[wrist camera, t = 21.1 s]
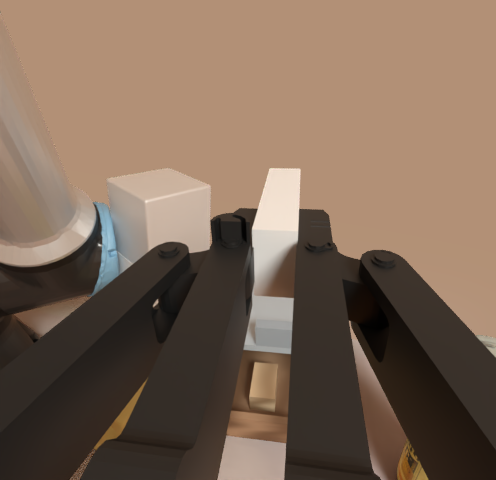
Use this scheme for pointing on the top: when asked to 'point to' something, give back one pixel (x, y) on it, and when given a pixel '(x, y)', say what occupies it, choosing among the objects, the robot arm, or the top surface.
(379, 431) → the top surface
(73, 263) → the robot arm
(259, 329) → the lid
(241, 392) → the brown flat block
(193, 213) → the tall white carton
